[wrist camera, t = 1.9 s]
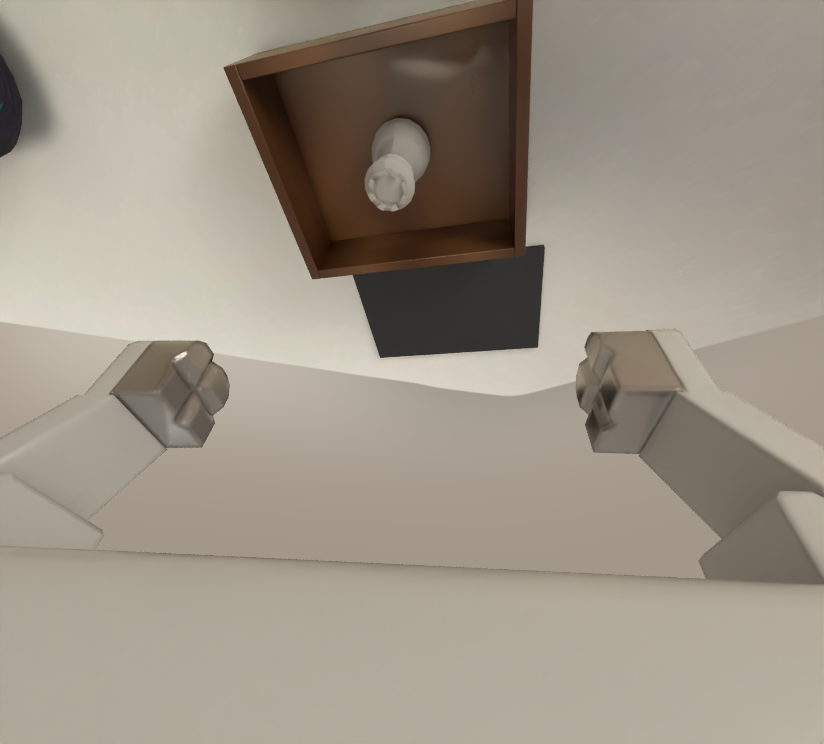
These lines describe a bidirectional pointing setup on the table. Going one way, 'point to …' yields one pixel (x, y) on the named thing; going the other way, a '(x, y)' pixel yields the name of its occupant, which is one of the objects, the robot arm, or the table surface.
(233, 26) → the table surface
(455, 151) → the open wooden box
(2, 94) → the portable speaker
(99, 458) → the robot arm
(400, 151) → the rook chess piece
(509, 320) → the mat
